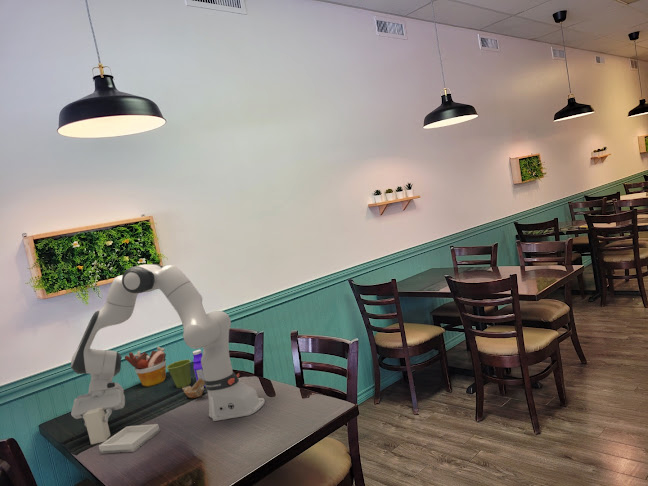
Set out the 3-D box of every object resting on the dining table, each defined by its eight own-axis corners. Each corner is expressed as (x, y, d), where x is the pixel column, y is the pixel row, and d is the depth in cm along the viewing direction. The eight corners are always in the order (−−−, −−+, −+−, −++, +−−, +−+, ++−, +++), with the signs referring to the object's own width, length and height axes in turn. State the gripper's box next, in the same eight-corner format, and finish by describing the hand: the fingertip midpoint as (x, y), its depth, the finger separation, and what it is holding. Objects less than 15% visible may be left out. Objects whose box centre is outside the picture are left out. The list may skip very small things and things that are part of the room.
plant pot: (171, 385, 246) (166, 364, 246) (195, 378, 250) (190, 357, 249) (171, 392, 235) (166, 369, 234) (196, 385, 238) (190, 362, 238)
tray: (159, 431, 187) (158, 423, 187) (133, 451, 173) (131, 443, 173) (128, 433, 192) (126, 426, 192) (100, 453, 177) (98, 445, 177)
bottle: (207, 388, 230) (198, 352, 229) (196, 389, 231) (188, 354, 230) (213, 382, 237) (205, 347, 236) (203, 383, 238) (195, 349, 237)
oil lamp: (196, 403, 211) (190, 381, 210) (177, 396, 227) (172, 375, 227) (213, 395, 216) (208, 374, 216) (194, 389, 233) (189, 368, 232)
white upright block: (110, 435, 195) (103, 406, 194) (105, 441, 189) (97, 411, 188) (96, 438, 194) (89, 409, 194) (91, 444, 189) (83, 414, 188)
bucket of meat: (163, 375, 272) (154, 340, 270) (178, 377, 260) (169, 341, 259) (128, 389, 257) (120, 352, 256) (143, 392, 246) (134, 354, 245)
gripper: (71, 393, 197) (65, 426, 188) (121, 381, 198) (118, 414, 189) (78, 400, 202) (73, 432, 193) (127, 388, 203) (125, 420, 193)
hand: (96, 423), depth 191 cm, fingers closed on white upright block, 5 cm apart
